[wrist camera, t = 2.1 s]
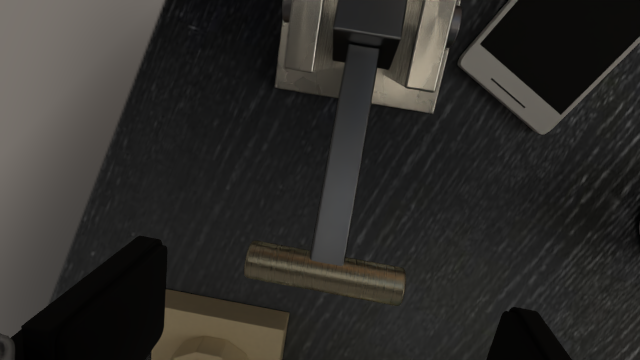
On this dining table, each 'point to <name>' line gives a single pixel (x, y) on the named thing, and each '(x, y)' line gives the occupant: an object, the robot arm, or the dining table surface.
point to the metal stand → (390, 85)
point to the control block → (219, 330)
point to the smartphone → (550, 54)
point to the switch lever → (343, 167)
